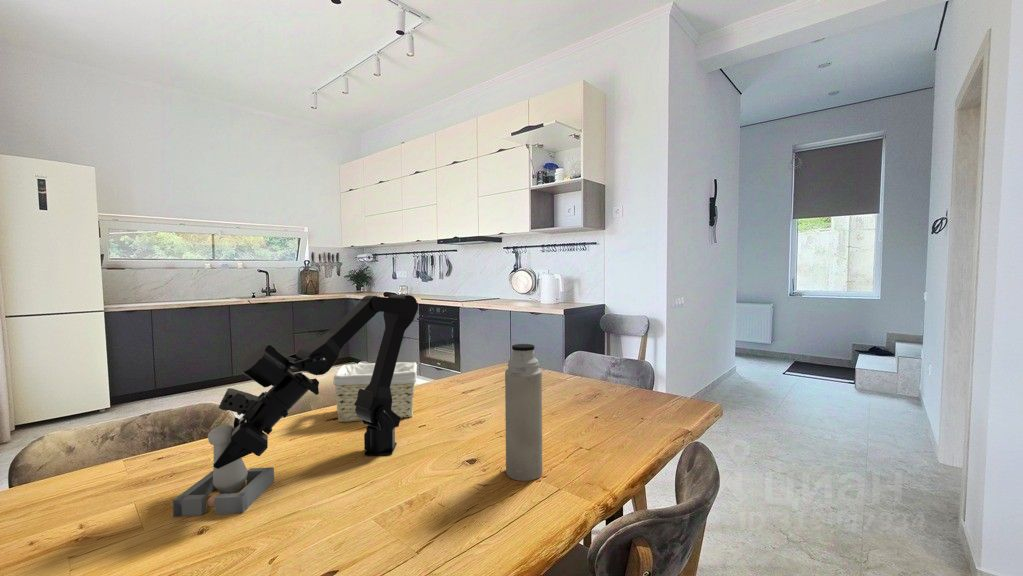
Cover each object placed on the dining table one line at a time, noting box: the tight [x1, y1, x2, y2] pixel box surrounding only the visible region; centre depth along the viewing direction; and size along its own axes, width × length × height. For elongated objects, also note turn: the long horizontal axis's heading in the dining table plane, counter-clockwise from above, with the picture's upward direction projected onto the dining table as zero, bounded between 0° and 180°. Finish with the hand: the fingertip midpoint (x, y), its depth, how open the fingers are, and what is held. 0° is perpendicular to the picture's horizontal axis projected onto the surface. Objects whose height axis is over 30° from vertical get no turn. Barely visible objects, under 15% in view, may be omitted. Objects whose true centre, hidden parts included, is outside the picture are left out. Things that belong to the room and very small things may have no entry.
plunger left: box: [206, 492, 220, 507], centre depth 79 cm, size 2×2×2 cm
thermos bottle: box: [504, 343, 543, 482], centre depth 92 cm, size 8×8×28 cm
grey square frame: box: [172, 466, 275, 517], centre depth 83 cm, size 12×12×3 cm
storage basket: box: [333, 361, 418, 423], centre depth 133 cm, size 24×16×15 cm
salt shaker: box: [207, 424, 248, 494], centre depth 83 cm, size 6×6×13 cm
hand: (216, 463), depth 82 cm, fingers closed on salt shaker, 4 cm apart
